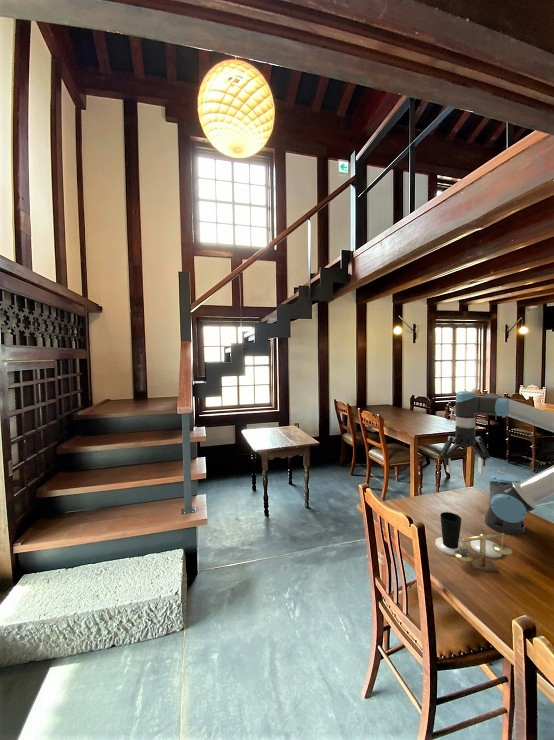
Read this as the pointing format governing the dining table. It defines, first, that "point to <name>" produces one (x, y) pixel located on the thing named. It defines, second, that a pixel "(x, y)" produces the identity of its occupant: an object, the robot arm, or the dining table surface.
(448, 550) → the low side dish
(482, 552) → the balance
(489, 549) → the white round plate
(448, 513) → the cup
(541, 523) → the dining table surface
